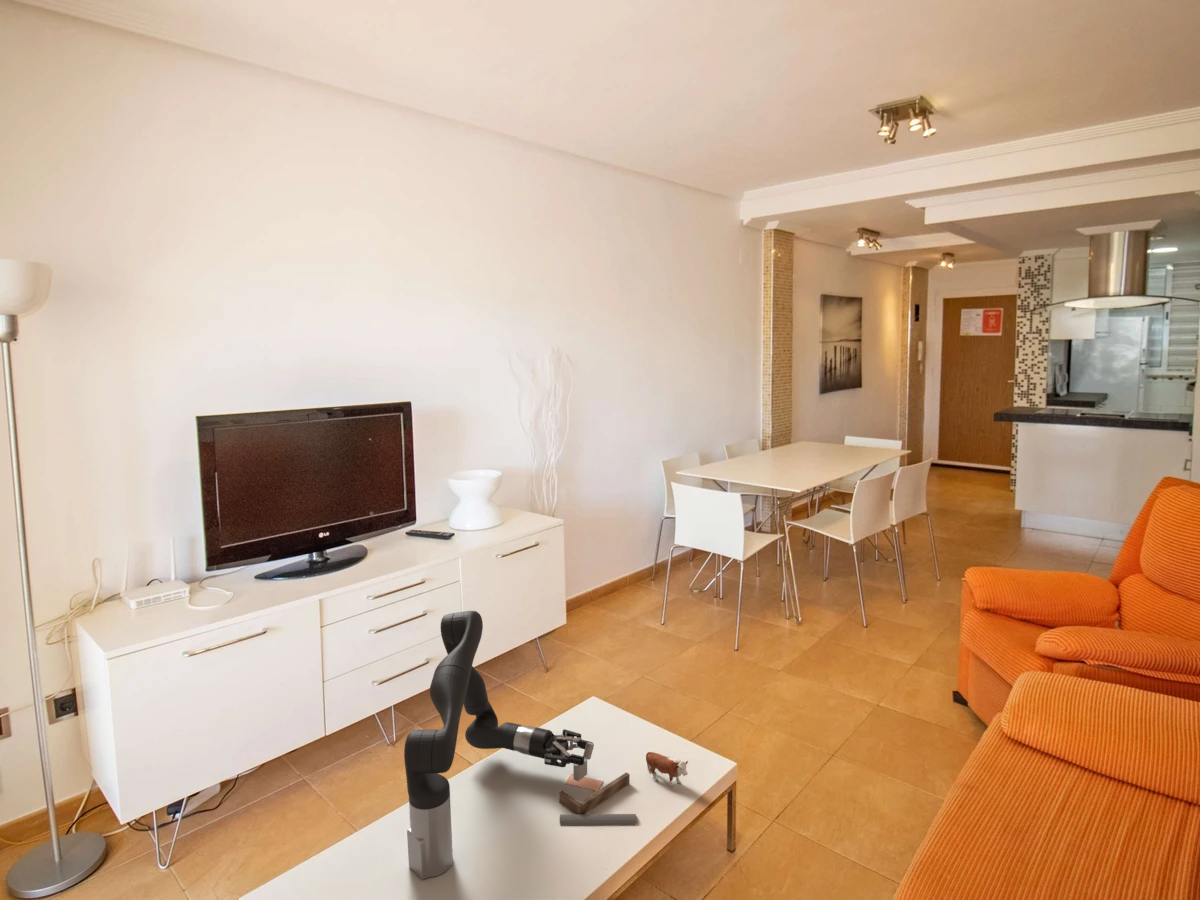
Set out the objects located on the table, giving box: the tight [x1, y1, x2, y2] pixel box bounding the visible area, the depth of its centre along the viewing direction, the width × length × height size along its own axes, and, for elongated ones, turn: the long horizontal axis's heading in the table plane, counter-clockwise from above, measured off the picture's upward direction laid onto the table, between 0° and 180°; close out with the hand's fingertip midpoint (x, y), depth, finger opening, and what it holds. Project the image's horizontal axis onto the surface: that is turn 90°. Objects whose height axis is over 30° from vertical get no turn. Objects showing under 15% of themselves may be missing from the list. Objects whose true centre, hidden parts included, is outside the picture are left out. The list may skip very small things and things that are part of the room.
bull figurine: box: [645, 751, 689, 787], centre depth 191 cm, size 4×13×8 cm, turn 53°
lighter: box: [573, 741, 595, 781], centre depth 189 cm, size 7×2×8 cm, turn 142°
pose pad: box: [565, 773, 604, 792], centre depth 191 cm, size 4×10×1 cm, turn 70°
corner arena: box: [558, 772, 630, 814], centre depth 186 cm, size 19×8×3 cm, turn 135°
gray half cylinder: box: [559, 813, 637, 827], centre depth 176 cm, size 4×20×2 cm, turn 90°
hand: (588, 753), depth 189 cm, fingers closed on lighter, 6 cm apart
